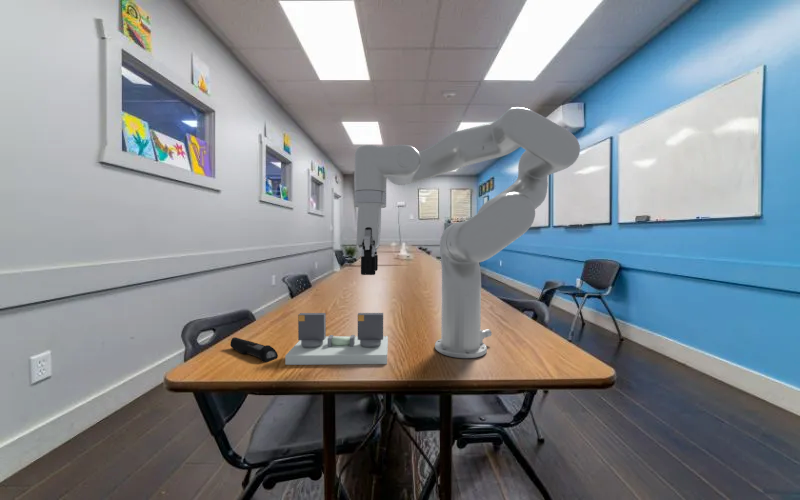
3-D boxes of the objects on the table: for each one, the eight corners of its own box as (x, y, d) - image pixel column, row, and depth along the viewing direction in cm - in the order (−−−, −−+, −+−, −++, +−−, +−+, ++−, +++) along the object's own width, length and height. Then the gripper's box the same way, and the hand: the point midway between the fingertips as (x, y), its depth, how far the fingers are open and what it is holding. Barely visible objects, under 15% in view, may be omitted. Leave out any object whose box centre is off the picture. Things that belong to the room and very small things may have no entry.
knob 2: (383, 340, 74) (383, 311, 73) (382, 347, 69) (382, 316, 68) (359, 340, 73) (359, 311, 73) (356, 347, 68) (356, 316, 68)
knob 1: (327, 340, 73) (327, 311, 73) (322, 347, 68) (322, 316, 68) (302, 340, 73) (302, 311, 73) (296, 347, 68) (296, 316, 68)
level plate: (387, 343, 78) (387, 328, 78) (386, 364, 65) (386, 345, 65) (303, 344, 77) (303, 328, 77) (285, 364, 64) (285, 346, 64)
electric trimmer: (241, 346, 76) (241, 334, 76) (279, 358, 68) (279, 344, 68) (226, 351, 73) (226, 338, 73) (264, 364, 65) (264, 349, 65)
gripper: (358, 205, 79) (358, 269, 79) (349, 194, 61) (348, 276, 62) (386, 205, 79) (386, 269, 79) (385, 195, 62) (384, 276, 62)
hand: (369, 272), depth 71 cm, fingers open, 9 cm apart
